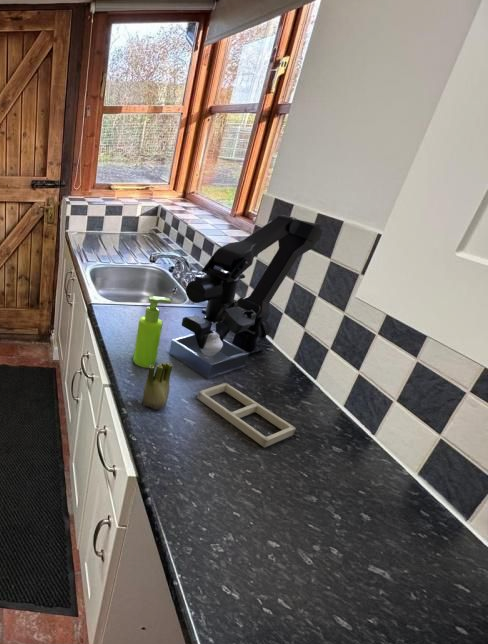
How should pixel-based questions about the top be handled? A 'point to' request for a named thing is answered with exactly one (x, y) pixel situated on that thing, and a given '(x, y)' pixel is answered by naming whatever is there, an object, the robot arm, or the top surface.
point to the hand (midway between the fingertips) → (209, 345)
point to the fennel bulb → (157, 386)
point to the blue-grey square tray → (208, 357)
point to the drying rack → (249, 409)
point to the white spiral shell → (212, 345)
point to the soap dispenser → (149, 334)
